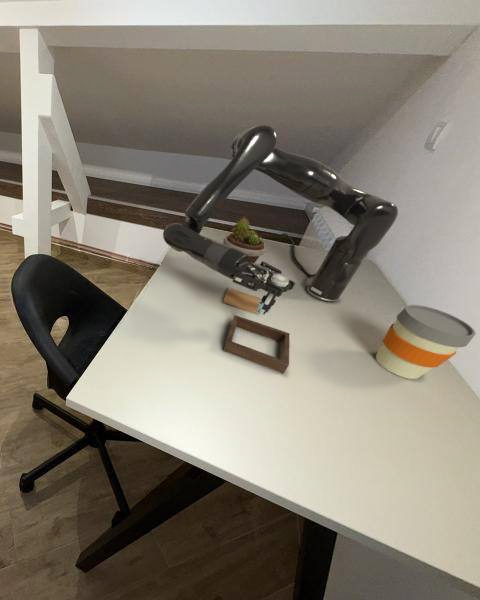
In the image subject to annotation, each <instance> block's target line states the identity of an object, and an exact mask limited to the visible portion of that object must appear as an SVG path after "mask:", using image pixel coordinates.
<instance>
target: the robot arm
mask: <svg viewBox="0 0 480 600" xmlns="http://www.w3.org/2000/svg"><path fill="white" fill-rule="evenodd" d="M277 144H278V134H277V131H276V129H274V127H272V126H271V125H268V124H260V125H259V124H257V125H255V126H253V127H250V128H247V129H245V130H243V131H241V132H239V133H237V135H236V136H235V137H233V139H232V141H231V143H230V147H229V149H230V155H231V156H232V159H231V160H230V161H229V162H228V164H227V165H226V166H225V168H223V169H222V171H220V173H219V174H217V176H216V177H214V178H213V179H212V180H211V181H210V182H209V183H208V184H207V185H206V186H205V187H203V189H201V191H199V193H198V194H197V195H196V197H195V198H194V199H193V201H192V202H191V203H190V204H189V205H188V206H187V208H186V209H185V211H184V216H185V220H184V222H183V223H179V222H173V223H170V224H168V225H166V227H165V228H164V229H163V231H162V237H163V241H164V242H165V243H166V245H168V246H169V247H170V248H171V249H173V250H174V251H175V252H178V253H183V252H184V253H185V254H187V255H188V256H189V257H191V258H192V259H193V260H195V261H197V262H199V263H201V264H203V265H205V266H206V267H208V268H209V269H211V270H212V271H214V272H217V273H219V274H220V275H222V276H225V277H226V278H228V279H230V280H232V283H234V284H236V285H239V286H241V287H243V288H246V289H249V290H251V291H253V292H257V291H258V290H259V291H264V292H267V293H268V292H269V293H271V294H273V295H275V296H276V298H279V297H281V296H282V294H283V293H284V292H283V291H284V289H283V288H281V287H279V286H277V285H275V284H273V283H271V282H268V283H267V277H268V276H273V275H275V274H279V275H282V273H283V271H282V270H281V269H279V268H277V267H275V266H274V265H271V264H269V263H268V262H266V261H260V264H259V263H257V262H255V263H252V262H250V261H249V255H248V254H246V253H244V252H242V251H239V250H237V249H235V248H233V247H230V246H228V245H226V244H223V243H222V242H220V241H217V240H215V239H212V238H210V237H208V236H205V235H202V234H201V232H202V231H203V228H204V226H205V224H206V223H207V222H208V221H209V220H210V218H211V217H212V216H213V215H214V214H215V212H216V211H217V210H218V209H219V207H220V206H221V205H222V204H223V203H224V202H225V200H226V199H227V198H228V197H229V196H230V195H231V193H233V191H235V189H236V188H237V187H238V186H239V185H240V184H241V183H242V182H243V181H244V180H245V179H246V178H247V177H248V176H249V175H250V174H251V173H252V172H253V171H254V170H255V171H257V172H260V173H263V174H264V175H266V176H268V177H269V178H271V179H272V180H274V181H275V182H277V183H279V184H280V185H282V186H284V187H285V188H287V189H289V190H290V191H292V192H293V193H295V194H296V195H298V196H300V197H302V198H304V199H306V200H307V201H310V202H312V203H315V204H319V205H322V206H325V207H328V208H329V209H331V210H333V211H334V212H335V213H337V214H338V215H339V216H341V217H342V218H343V219H345V221H346V222H348V223H349V224H350V225H352V226H353V227H352V229H351V230H350V232H349V233H348V235H340V236H338V237H336V239H335V240H334V242H333V244H332V245H331V247H330V249H329V251H328V252H327V254H326V256H325V257H324V259H323V261H322V263H321V264H320V266H319V268H318V270H316V272H315V273H313V274H311V273H309V272H308V271H307V270H306V269H305V268H304V266H303V265H302V264H301V262H299V260H298V259H297V256H296V245H295V242H294V240H293V239H292V238H291V236H290V235H289V234H288V233H285V232H284V233H282V234H280V236H286V237H287V238H288V239H289V241H290V242H291V245H292V257H293V259H294V261H295V263H296V265H298V266H299V268H300V269H301V270H302V272H303V273H304V274H305V275H306V276H307V277H310V278H312V280H311V282H310V283H309V285H308V286H307V288H306V292H307V294H308V295H310V296H311V297H314V298H315V299H317V300H319V301H323V302H327V303H337V302H338V301H339V300H340V297H341V296H342V294H343V293H344V291H345V290H346V289H347V287H348V285H349V283H350V282H351V280H352V279H353V277H354V276H355V274H356V273H357V272H358V270H359V269H360V267H361V265H362V264H363V262H364V261H365V259H366V258H367V256H368V255H369V254H370V252H371V251H372V250H374V248H376V247H377V246H378V245H379V244H380V242H381V241H383V238H384V237H385V236H386V235H387V233H389V231H390V229H391V228H392V227H393V225H394V224H395V222H396V220H397V218H398V215H399V208H398V206H397V205H396V204H395V203H393V202H392V201H389V200H386V199H384V198H382V197H379V196H377V195H374V194H371V193H368V192H365V191H362V190H361V189H358V188H356V187H355V186H354V187H353V186H352V185H351V184H349V183H348V182H347V181H346V180H345V179H344V178H343V177H342V176H341V175H340V174H339V173H338V172H336V171H335V170H334V169H332V167H329V166H328V165H325V164H324V163H322V162H321V161H318V160H316V159H314V158H311V157H308V156H304V155H300V154H296V153H293V152H289V151H286V150H283V149H281V148H279V147H277ZM289 282H290V283H291V287H290V288H289V289H288V290H287V291H291V290H293V288H294V287H295V285H296V282H295V281H294V280H292V279H289Z"/></svg>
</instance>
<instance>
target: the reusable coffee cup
mask: <svg viewBox="0 0 480 600" xmlns="http://www.w3.org/2000/svg"><path fill="white" fill-rule="evenodd" d="M475 336H476V331H475V329H474V328H473V327H472V326H471V325H469V324H468V323H467V322H466V321H464V320H462V319H460V318H458V317H456V316H455V315H453V314H450V313H447V312H445V311H442V310H440V309H436V308H434V307H430V306H427V305H420V304H408V305H406V306H405V307H404V308H403V309H402V310H401V311H400V312H399V313H398V314H397V315H396V320H395V322H394V323H391V325H390V326H389V328H388V330H387V332H386V333H385V335H384V337H383V339H382V345H381V346H380V348H379V350H378V351H377V353H376V355H375V359H376V361H377V363H378V364H379V365H380V366H382V368H384V369H385V370H387V371H388V372H391V373H393V374H394V375H397V376H399V377H402V378H405V379H410V380H411V379H412V380H416V379H419V378H420V377H422V376H423V375H424V374H426V373H427V372H428V371H430V370H432V369H434V368H438V367H440V366H441V365H442V364H444V363H445V362H447V361H448V360H450V359H451V358H452V357H454V356H455V355H457V351H458V350H459V349H461V348H464V347H467V346H468V345H469V344H470V342H471V341H472V339H473V338H474V337H475Z"/></svg>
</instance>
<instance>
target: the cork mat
mask: <svg viewBox="0 0 480 600" xmlns="http://www.w3.org/2000/svg"><path fill="white" fill-rule="evenodd" d="M259 301H260V297H258V296H255V295H251V294H248V293H245V292H242V291H238V290H236V289H232V288H229V287H228V288H227V289H226V292H225V295H224V297H223V300H222V303H223V304H226V305H229V306H232V307H235V308H239V309H240V310H245V311H247V312H250V313H253V314H257V313H258V308H259V306H258V305H259V303H260V302H259ZM257 307H258V308H257Z"/></svg>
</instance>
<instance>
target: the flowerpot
mask: <svg viewBox="0 0 480 600" xmlns="http://www.w3.org/2000/svg"><path fill="white" fill-rule="evenodd" d="M249 229H251V230H249ZM259 236H260V237H259ZM223 244H226V245H228V246H230V247H233V248H235V249H237V250H239V251H242V252H244V253H246V254H248V255H249V261H250V262H252V263H257V261H258V260H259V258H260V257H262V256H263V255H265V253H267V247H266V244H265V241H263V240H262V236H261V235H258V232H256V229H255V228H252V227H251V226H250V222H249V221H248V218H245V217H241V218H240V219H239V220H238V221H236V222H235V223H234V224H233V228H232V229H231V233H230V234H229V235H227V236H225V237H224V238H223Z"/></svg>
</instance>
